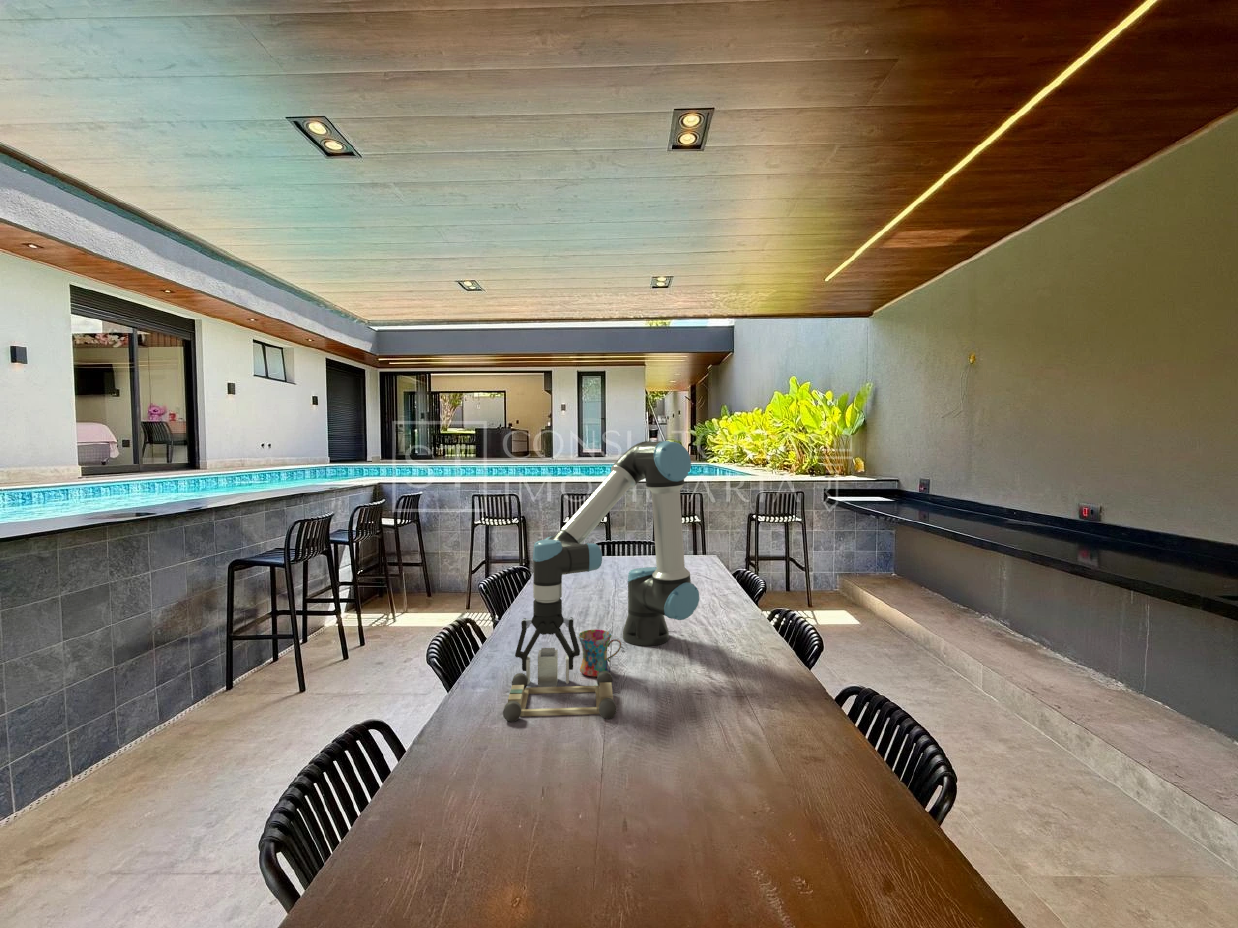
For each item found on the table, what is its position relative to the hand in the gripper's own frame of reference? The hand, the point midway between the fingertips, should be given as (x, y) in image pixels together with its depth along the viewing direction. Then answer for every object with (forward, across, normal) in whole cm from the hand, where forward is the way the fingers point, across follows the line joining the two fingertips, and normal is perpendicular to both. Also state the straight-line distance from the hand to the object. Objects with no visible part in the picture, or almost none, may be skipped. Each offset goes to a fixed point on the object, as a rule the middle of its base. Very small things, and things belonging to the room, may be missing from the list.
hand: (547, 681), depth 151 cm
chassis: (0, -4, +12) cm, 13 cm away
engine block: (0, 0, 0) cm, 0 cm away
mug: (0, -14, -6) cm, 15 cm away
